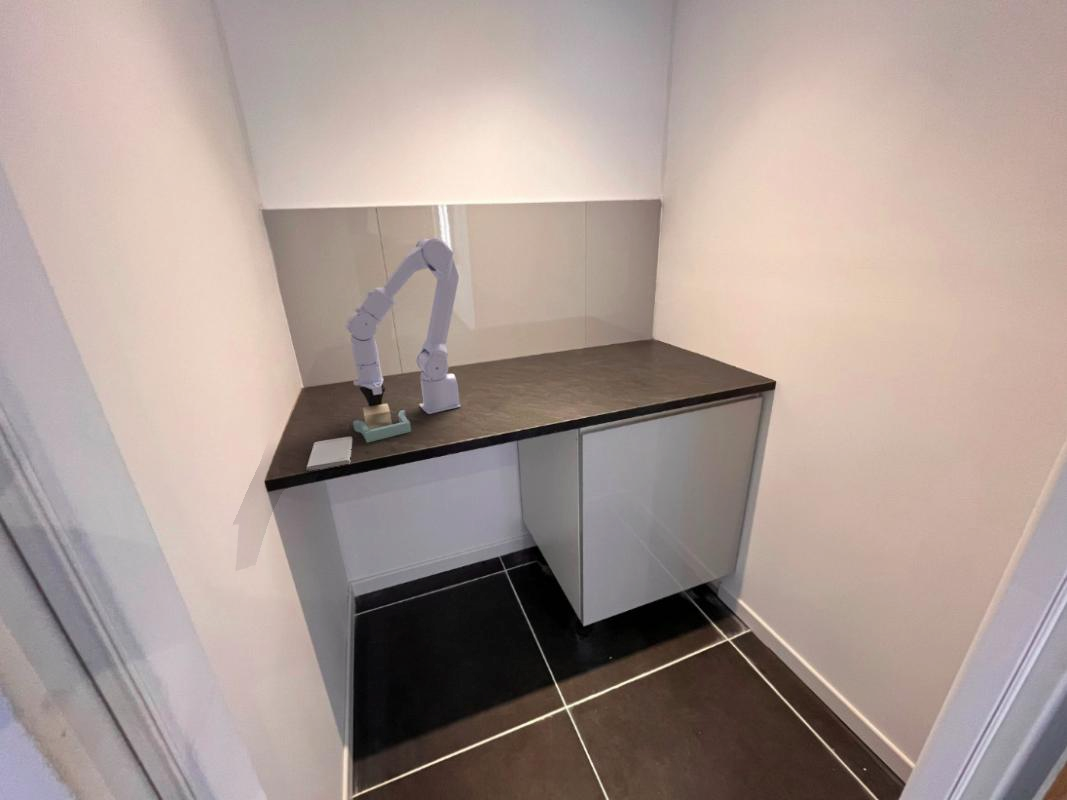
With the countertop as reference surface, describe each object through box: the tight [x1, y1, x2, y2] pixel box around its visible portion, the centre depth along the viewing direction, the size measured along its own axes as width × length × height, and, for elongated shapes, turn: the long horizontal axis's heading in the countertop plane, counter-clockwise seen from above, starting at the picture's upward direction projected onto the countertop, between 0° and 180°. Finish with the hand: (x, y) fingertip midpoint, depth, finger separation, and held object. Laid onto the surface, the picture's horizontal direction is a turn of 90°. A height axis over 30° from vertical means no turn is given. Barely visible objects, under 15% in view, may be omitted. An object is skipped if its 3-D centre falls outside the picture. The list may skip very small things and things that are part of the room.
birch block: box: [362, 403, 393, 430], centre depth 105 cm, size 6×6×4 cm
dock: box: [352, 409, 412, 443], centre depth 103 cm, size 13×9×2 cm
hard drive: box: [306, 436, 353, 470], centre depth 92 cm, size 2×8×12 cm
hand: (376, 412), depth 109 cm, fingers closed
